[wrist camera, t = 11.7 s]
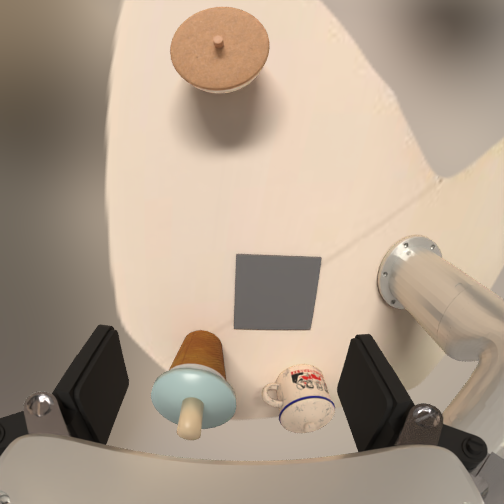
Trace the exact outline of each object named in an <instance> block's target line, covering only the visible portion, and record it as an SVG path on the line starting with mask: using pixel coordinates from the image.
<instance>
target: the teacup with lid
mask: <svg viewBox="0 0 504 504" xmlns="http://www.w3.org/2000/svg"><path fill="white" fill-rule="evenodd" d="M268 390H276V391H277V397H278V401H277V400H274V399H272V398H270V397H269V396H268V393H267V391H268ZM262 398H263V400H264V401H265V402H266V403H267V404H268V405H270V406H273V407H279V411H280V415H279V421H280V423H281V425H282V426H283V427H284V428H285V429H286V430H288V431H291V432H294V433H307V432H313V431H315V430H318V429H320V428H322V427H324V426H325V425H327V424H328V423H329V422H330V421H331V419H332V418H333V416H334V413H335V406H334V403H333V402H332V401H331V398H330V395H329V392H328V389H327V386H326V383H325V380H324V378H323V375H322V373H321V371H320V370H319V369H318V368H316V367H314V366H312V365H305V364H303V365H296V366H292V367H290V368H288V369H286V370H285V371H283V372H282V373H281V374H280V375H279V377H278V378H277V381H276V383H272V384H268V385H267V386H265V388H264V389H263V391H262Z"/></svg>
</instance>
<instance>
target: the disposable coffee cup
mask: <svg viewBox="0 0 504 504" xmlns="http://www.w3.org/2000/svg"><path fill="white" fill-rule="evenodd" d="M176 368H197V369H202V370H206V371H209V372H212V373H214V374H216V375H218V376H220V377H221V378H223V379H224V380H225V381H226V375H225V369H224V368H225V367H224V360H223V352H222V344H221V342H220V340H219V338H218V337H217V336H215V335H214V334H212V333H210V332H208V331H202V330H199V331H194V332H191V333H189V334H188V335H187V336H186V337H185V339H184V341H183V343H182V345H181V347H180V349H179V351H178V353H177V355H176V357H175V359H174V361H173V363H172V365H171V367H170V369H169V370H172V369H176Z"/></svg>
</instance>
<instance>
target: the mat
mask: <svg viewBox="0 0 504 504" xmlns="http://www.w3.org/2000/svg"><path fill="white" fill-rule="evenodd" d="M320 266H321V257H304V256H278V255H252V254H236V280H235V309H234V329H274V330H306V329H311V323H312V317H313V311H314V305H315V299H316V293H317V286H318V280H319V273H320Z"/></svg>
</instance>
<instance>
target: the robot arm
mask: <svg viewBox="0 0 504 504" xmlns="http://www.w3.org/2000/svg"><path fill="white" fill-rule="evenodd" d="M378 288H379V291H380V294H381V296H382V298H383V299H384V300H385V301H386V302H387V303H388V304H389V305H390V306H392V307H394V308H397V309H406V310H407V311H408V312H409V313H410V314H411V315H412V316H413V317H414V318H415V320H416V321H417V322H418V323H419V324H420V325H421V326H422V327H423V328H424V330H425V331H426V332H427V333H428V334H429V335H430V336H431V337H432V339H433V340H434V341H435V342H436V343H437V344H438V345H439V347H440V348H441V349H442V350H443V351H444V352H445V353H446V354H447V355H448V356H450V357H451V358H453V359H455V360H458V361H478V360H479V363H478V365H477V367H476V369H475V370H474V371H473V373H472V375H471V377H470V378H469V379H468V381H467V382H466V383H465V385H464V386H463V387H462V389H461V390H460V391H459V393H458V394H457V395H456V397H455V398H454V399H453V400H452V402H451V403H450V404H449V406H448V407H447V408H446V409H445V411H444V412H443V413H441V412H440V410H439V409H437V408H436V407H435V406H432V405H430V404H424V403H423V404H417V405H414V403H413V401H412V400H411V398H410V396H409V395H408V393H407V391H406V390H405V388H404V386H403V385H402V383H401V381H400V380H399V378H398V376H397V375H396V373H395V372H394V370H393V368H392V367H391V365H390V364H389V363H388V361H387V359H386V358H385V356H384V355H383V353H382V351H381V350H380V348H379V347H378V345H377V344H376V342H375V340H374V339H373V337H372V336H371V335H370V334H362V335H356V336H355V338H353V339H351V342H350V345H349V349H348V353H347V356H346V360H345V363H344V367H343V370H342V373H341V377H340V380H339V383H338V387H337V392H338V396H339V399H340V401H341V404H342V407H343V410H344V412H345V415H346V418H347V420H348V424H349V426H350V429H351V432H352V435H353V438H354V441H355V443H356V446H357V449H358V452H356V453H349V454H342V455H335V456H327V457H318V458H309V459H308V458H307V459H296V460H277V461H225V460H207V459H194V458H183V457H174V456H166V455H159V454H152V453H145V452H140V451H134V450H129V449H124V448H119V447H114V446H109V445H106V443H107V441H108V438H109V435H110V433H111V430H112V427H113V424H114V422H115V419H116V417H117V414H118V411H119V409H120V406H121V404H122V401H123V399H124V396H125V394H126V391H127V388H128V385H129V379H128V375H127V371H126V367H125V363H124V358H123V354H122V350H121V345H120V340H119V335H118V332H117V331H116V330H114V328H113V327H112V326H107V325H98V326H97V328H96V329H95V331H94V332H93V333H92V335H91V336H90V338H89V339H88V341H87V342H86V344H85V345H84V346H83V348H82V349H81V351H80V352H79V354H78V355H77V356H76V357H75V359H74V360H73V362H72V363H71V365H70V366H69V368H68V370H67V371H66V373H65V374H64V376H63V377H62V379H61V380H60V382H59V383H58V385H57V386H56V388H55V390H54V391H53V393H52V394H51V393H48V392H44V391H41V392H36V393H33V394H31V395H30V396H29V397H28V398H27V399H26V400H25V402H24V405H23V410H24V411H22V412H19V413H16V414H12V415H9V416H6V417H3V418H0V504H504V299H503V298H501V297H500V296H498V295H497V294H495V293H494V292H492V291H491V290H490V289H488V288H487V287H485V286H484V285H482V284H481V283H479V282H478V281H476V280H475V279H473V278H472V277H470V276H469V275H467V274H466V273H464V272H463V271H461V270H460V269H458V268H457V267H455V266H454V265H452V264H451V263H449V262H448V261H446V260H445V259H443V258H442V254H441V251H440V249H439V247H438V246H437V244H436V243H435V242H433V241H432V240H431V239H429V238H427V237H424V236H420V235H414V236H409V237H406V238H404V239H402V240H400V241H399V242H397V243H396V244H395V245H394V246H393V247H392V248H391V249H390V250H389V251H388V252H387V254H386V256H385V257H384V259H383V261H382V263H381V266H380V269H379V273H378Z"/></svg>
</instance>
